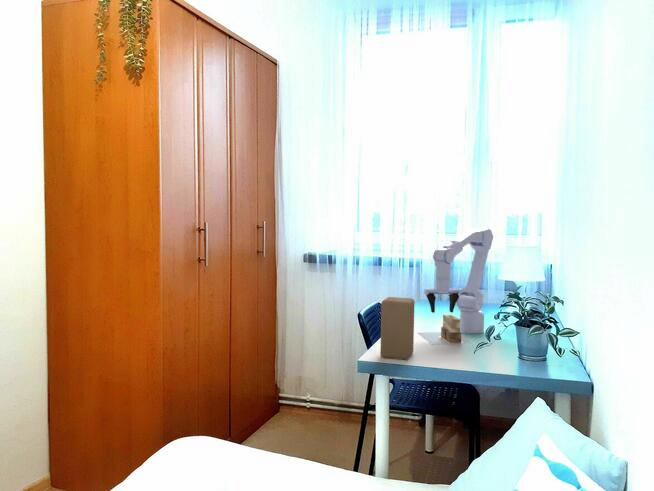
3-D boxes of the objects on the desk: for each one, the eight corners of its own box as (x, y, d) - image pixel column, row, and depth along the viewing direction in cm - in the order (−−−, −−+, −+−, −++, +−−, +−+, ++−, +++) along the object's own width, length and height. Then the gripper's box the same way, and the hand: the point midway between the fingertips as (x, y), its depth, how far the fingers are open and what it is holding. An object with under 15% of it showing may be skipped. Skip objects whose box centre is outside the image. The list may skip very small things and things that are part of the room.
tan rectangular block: (451, 326, 228) (451, 314, 228) (460, 332, 218) (460, 319, 218) (442, 326, 227) (443, 314, 227) (451, 332, 218) (451, 319, 217)
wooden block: (413, 353, 202) (415, 298, 201) (408, 360, 193) (409, 302, 191) (386, 351, 205) (387, 296, 204) (379, 358, 196) (380, 300, 194)
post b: (457, 339, 223) (457, 329, 222) (461, 342, 218) (461, 332, 218) (446, 340, 222) (446, 330, 222) (449, 342, 218) (450, 332, 217)
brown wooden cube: (451, 336, 228) (452, 326, 228) (455, 339, 224) (456, 329, 224) (441, 336, 228) (441, 326, 228) (444, 339, 223) (445, 329, 223)
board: (454, 332, 237) (454, 332, 237) (472, 344, 217) (472, 343, 217) (416, 333, 235) (416, 332, 235) (431, 345, 215) (431, 344, 215)
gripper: (428, 279, 221) (427, 314, 222) (464, 279, 223) (463, 313, 224) (423, 277, 228) (422, 310, 229) (457, 277, 230) (456, 310, 231)
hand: (442, 312), depth 227 cm, fingers open, 7 cm apart
